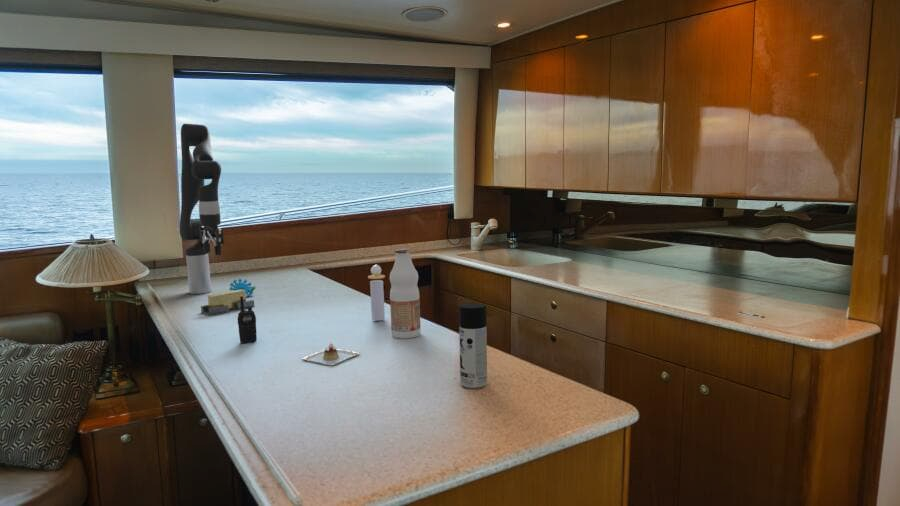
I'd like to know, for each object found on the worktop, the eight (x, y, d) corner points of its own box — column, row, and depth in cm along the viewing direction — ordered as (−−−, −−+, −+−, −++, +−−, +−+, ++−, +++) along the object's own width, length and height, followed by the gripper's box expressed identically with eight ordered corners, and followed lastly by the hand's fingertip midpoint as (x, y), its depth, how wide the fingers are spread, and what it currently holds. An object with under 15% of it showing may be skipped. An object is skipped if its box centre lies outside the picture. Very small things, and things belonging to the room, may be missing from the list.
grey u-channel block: (201, 312, 231) (200, 306, 231) (243, 303, 245) (243, 297, 244) (211, 315, 226) (211, 309, 226) (254, 306, 239) (254, 300, 239)
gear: (231, 296, 252) (228, 277, 257) (228, 304, 255) (225, 285, 261) (258, 296, 258) (254, 277, 263) (254, 304, 262) (251, 285, 267)
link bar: (209, 310, 231) (207, 295, 230) (242, 304, 242) (241, 289, 241) (213, 312, 229) (211, 296, 228) (246, 305, 240) (245, 290, 239)
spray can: (459, 380, 151) (457, 302, 148) (485, 378, 152) (484, 301, 149) (461, 390, 144) (459, 309, 142) (489, 388, 145) (488, 307, 142)
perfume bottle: (381, 323, 208) (378, 266, 205) (367, 322, 211) (364, 266, 208) (389, 319, 213) (387, 264, 210) (375, 318, 216) (373, 263, 213)
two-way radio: (240, 344, 187) (236, 297, 185) (238, 341, 191) (234, 295, 189) (258, 341, 190) (255, 295, 188) (255, 338, 194) (252, 293, 192)
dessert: (332, 369, 164) (331, 352, 163) (300, 362, 170) (299, 346, 170) (360, 356, 174) (360, 340, 173) (330, 350, 180) (329, 335, 180)
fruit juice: (397, 340, 187) (394, 252, 183) (387, 333, 195) (383, 248, 191) (425, 336, 191) (422, 249, 187) (414, 329, 199) (411, 246, 195)
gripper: (191, 212, 234) (194, 253, 237) (209, 214, 225) (212, 257, 228) (209, 210, 240) (212, 250, 243) (228, 213, 231) (230, 254, 234)
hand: (212, 253), depth 235 cm, fingers open, 8 cm apart
